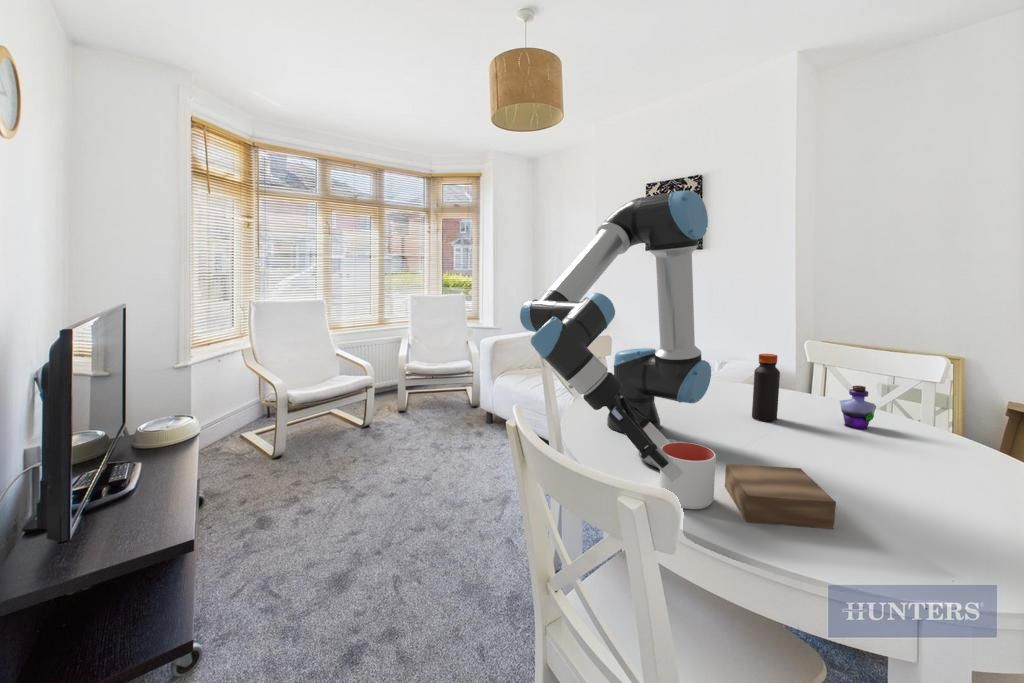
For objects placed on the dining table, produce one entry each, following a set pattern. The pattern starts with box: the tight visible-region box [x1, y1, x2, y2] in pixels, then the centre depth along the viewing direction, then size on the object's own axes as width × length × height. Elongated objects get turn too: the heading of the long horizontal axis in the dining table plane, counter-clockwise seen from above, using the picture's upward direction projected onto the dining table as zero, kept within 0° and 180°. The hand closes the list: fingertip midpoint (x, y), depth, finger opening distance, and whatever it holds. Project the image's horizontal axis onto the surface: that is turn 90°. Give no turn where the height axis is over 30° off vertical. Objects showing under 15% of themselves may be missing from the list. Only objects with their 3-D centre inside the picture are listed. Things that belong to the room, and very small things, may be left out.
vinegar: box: [751, 353, 781, 423], centre depth 136 cm, size 7×7×20 cm
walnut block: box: [724, 463, 837, 530], centre depth 85 cm, size 14×14×5 cm
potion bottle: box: [839, 385, 877, 431], centre depth 128 cm, size 9×9×12 cm
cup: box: [659, 441, 717, 510], centre depth 88 cm, size 10×10×10 cm
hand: (672, 461), depth 87 cm, fingers open, 13 cm apart
